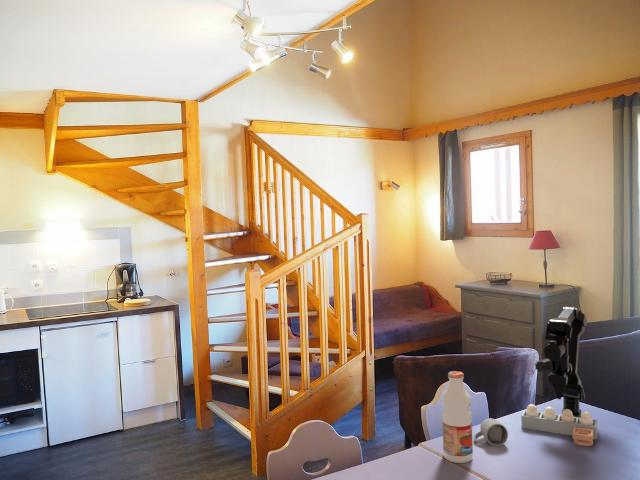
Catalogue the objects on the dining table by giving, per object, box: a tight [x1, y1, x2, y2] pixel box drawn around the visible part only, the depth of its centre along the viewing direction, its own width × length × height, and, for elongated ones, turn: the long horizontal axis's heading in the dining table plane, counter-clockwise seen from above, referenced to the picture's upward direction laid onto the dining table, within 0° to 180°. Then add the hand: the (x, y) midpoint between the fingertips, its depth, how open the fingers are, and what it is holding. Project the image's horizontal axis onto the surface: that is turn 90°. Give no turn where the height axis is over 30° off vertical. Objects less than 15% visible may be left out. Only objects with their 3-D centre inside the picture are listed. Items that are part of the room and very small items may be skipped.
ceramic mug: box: [473, 417, 509, 447], centre depth 183 cm, size 11×8×8 cm
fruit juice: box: [441, 370, 474, 464], centre depth 171 cm, size 9×9×28 cm
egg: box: [543, 406, 556, 420], centre depth 192 cm, size 4×4×6 cm
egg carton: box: [520, 403, 598, 440], centre depth 190 cm, size 7×25×8 cm, turn 60°
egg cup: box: [572, 427, 594, 447], centre depth 179 cm, size 6×6×4 cm
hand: (560, 395), depth 194 cm, fingers open, 9 cm apart
